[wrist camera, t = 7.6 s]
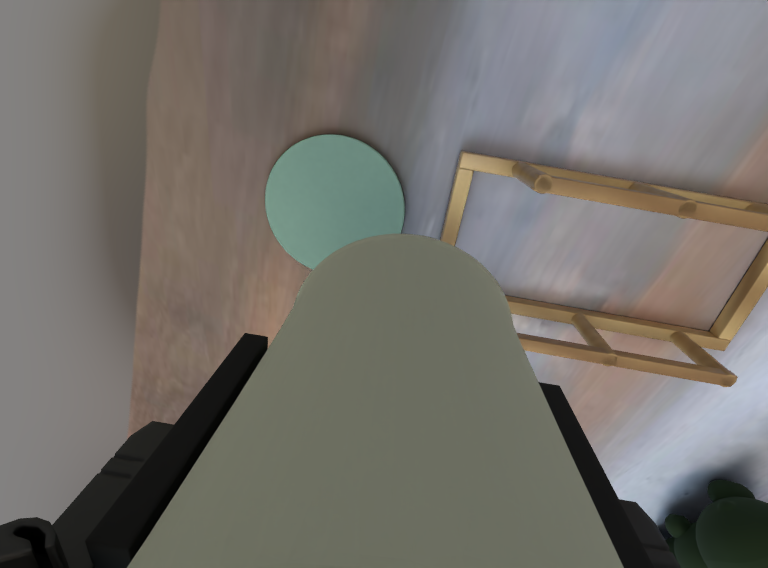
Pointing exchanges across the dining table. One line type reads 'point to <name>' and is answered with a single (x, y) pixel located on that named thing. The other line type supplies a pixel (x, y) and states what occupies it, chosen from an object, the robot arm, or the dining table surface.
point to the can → (387, 434)
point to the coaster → (331, 197)
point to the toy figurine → (722, 531)
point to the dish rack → (639, 196)
